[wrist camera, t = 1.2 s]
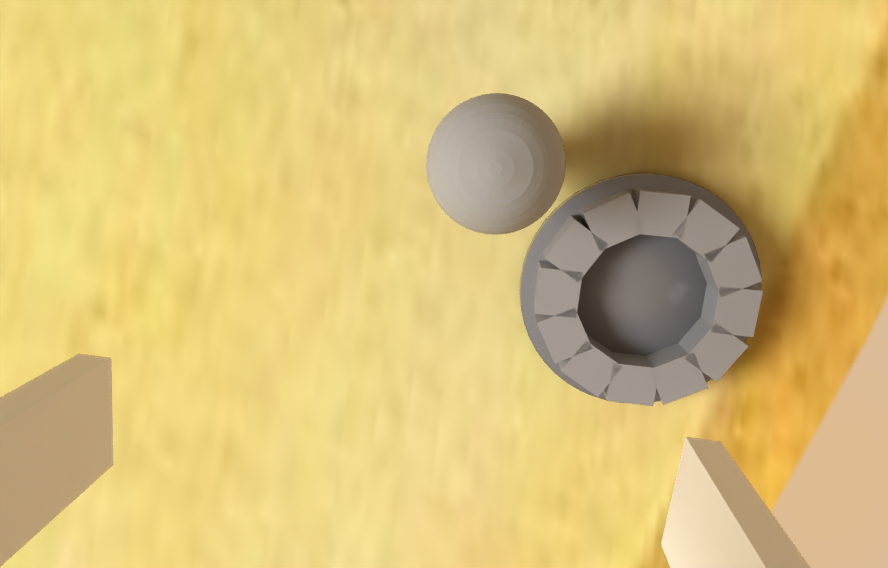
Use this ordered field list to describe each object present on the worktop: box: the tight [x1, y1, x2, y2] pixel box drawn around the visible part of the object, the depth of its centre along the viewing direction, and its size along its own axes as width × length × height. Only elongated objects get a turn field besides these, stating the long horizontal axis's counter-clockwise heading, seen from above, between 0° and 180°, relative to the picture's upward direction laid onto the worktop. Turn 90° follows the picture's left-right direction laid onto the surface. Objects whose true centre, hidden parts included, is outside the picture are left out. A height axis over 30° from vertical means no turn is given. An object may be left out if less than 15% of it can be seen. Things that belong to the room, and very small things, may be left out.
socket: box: [520, 173, 763, 406], centre depth 32 cm, size 12×12×3 cm
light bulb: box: [426, 93, 566, 234], centre depth 28 cm, size 5×5×10 cm
